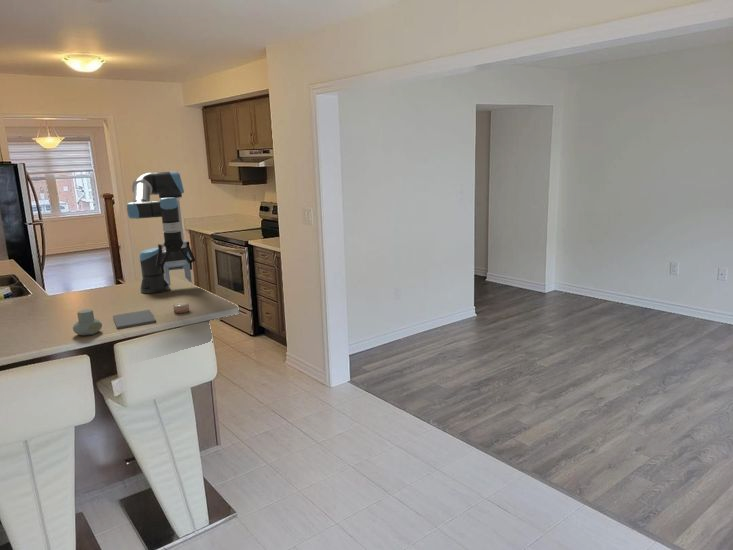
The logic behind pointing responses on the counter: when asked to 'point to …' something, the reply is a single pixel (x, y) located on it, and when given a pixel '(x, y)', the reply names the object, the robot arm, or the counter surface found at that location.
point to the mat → (133, 319)
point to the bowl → (181, 307)
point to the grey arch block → (178, 264)
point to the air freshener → (87, 323)
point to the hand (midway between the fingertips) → (177, 278)
